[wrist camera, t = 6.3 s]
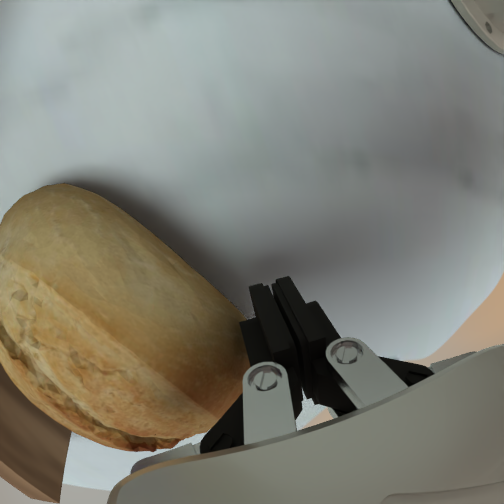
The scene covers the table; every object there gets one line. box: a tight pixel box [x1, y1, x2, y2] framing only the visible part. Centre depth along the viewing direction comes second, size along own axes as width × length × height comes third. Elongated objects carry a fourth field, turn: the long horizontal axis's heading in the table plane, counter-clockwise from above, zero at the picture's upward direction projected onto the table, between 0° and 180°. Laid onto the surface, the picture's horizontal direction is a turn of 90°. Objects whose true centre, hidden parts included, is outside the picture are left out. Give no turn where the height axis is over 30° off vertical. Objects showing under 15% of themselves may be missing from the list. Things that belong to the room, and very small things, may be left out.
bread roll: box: [0, 183, 251, 452], centre depth 12 cm, size 10×15×8 cm, turn 45°
